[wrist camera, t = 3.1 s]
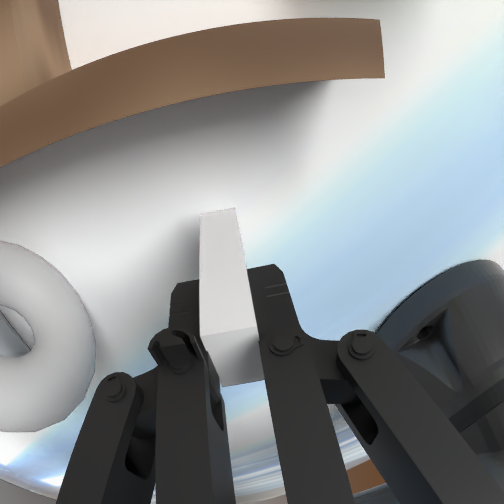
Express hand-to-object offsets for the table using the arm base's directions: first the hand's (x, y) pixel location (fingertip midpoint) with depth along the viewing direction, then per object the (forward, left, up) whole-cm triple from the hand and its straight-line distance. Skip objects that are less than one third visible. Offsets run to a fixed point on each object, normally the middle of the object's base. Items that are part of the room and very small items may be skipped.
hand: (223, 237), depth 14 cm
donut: (0, +11, -2) cm, 11 cm away
